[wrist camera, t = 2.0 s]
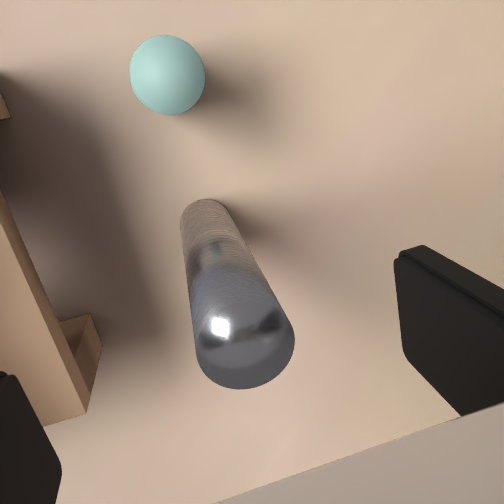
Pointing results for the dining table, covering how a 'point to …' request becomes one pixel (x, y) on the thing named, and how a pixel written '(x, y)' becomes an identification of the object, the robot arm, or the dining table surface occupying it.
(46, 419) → the bridge
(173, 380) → the dining table surface
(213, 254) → the long pin
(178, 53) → the short pin
